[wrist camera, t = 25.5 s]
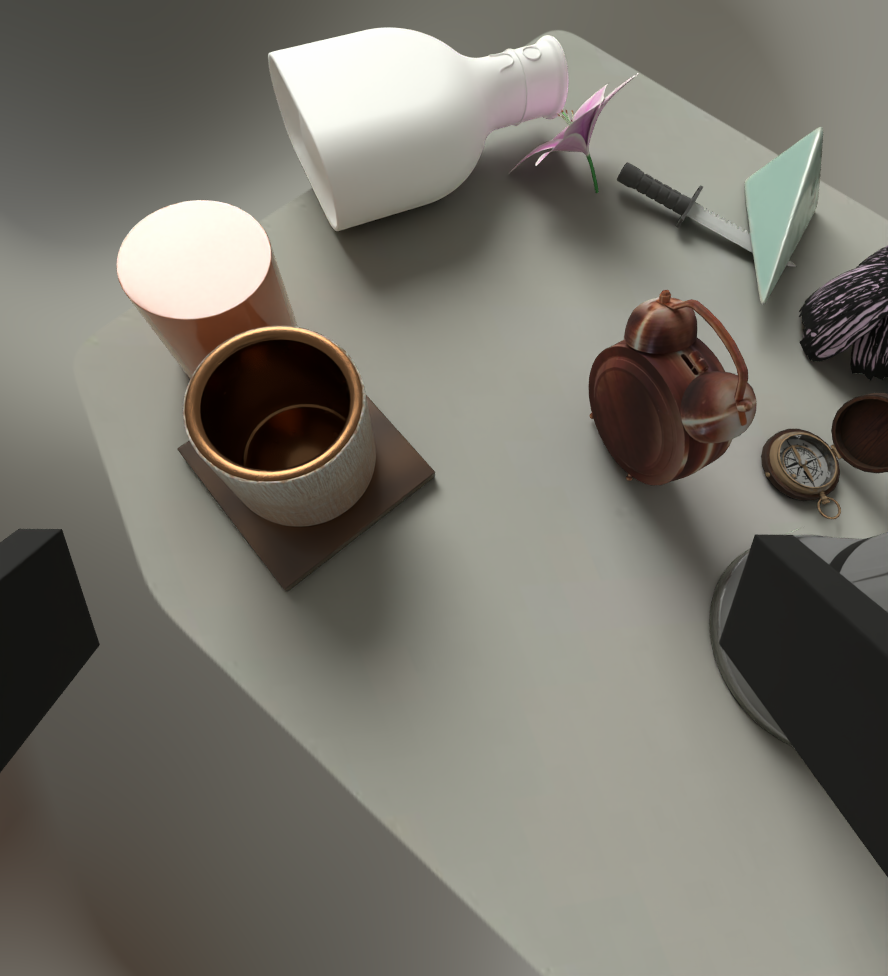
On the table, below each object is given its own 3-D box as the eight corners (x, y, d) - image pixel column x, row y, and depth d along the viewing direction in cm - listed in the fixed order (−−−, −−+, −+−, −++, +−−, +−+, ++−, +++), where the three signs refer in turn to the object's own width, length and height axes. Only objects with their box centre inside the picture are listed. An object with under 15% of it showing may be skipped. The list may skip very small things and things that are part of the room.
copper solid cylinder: (324, 353, 45) (301, 267, 35) (222, 419, 42) (168, 347, 33) (257, 277, 47) (218, 178, 38) (156, 336, 44) (87, 246, 35)
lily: (606, 139, 56) (590, 34, 49) (676, 173, 49) (669, 56, 42) (509, 203, 57) (479, 111, 50) (563, 247, 50) (537, 145, 43)
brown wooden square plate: (435, 476, 42) (435, 472, 41) (287, 592, 38) (284, 590, 37) (328, 357, 45) (326, 350, 44) (182, 453, 41) (176, 448, 40)
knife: (779, 292, 51) (795, 257, 52) (797, 275, 49) (814, 239, 50) (606, 195, 52) (627, 163, 53) (616, 174, 50) (638, 142, 51)
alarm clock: (682, 487, 43) (816, 395, 28) (632, 510, 42) (744, 426, 28) (614, 378, 46) (704, 246, 32) (565, 397, 45) (636, 270, 31)
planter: (292, 560, 38) (255, 524, 29) (203, 455, 40) (142, 392, 31) (406, 465, 41) (404, 407, 32) (316, 373, 43) (291, 293, 34)
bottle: (580, 178, 52) (610, 90, 44) (343, 252, 48) (328, 169, 40) (505, 68, 57) (520, -30, 49) (282, 126, 53) (258, 29, 45)
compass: (744, 444, 44) (805, 402, 37) (823, 420, 45) (896, 375, 39) (793, 533, 42) (868, 505, 35) (875, 505, 43) (963, 473, 36)
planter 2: (691, 335, 52) (748, 213, 57) (765, 337, 48) (818, 206, 53) (682, 268, 46) (746, 139, 51) (765, 265, 42) (825, 125, 47)
